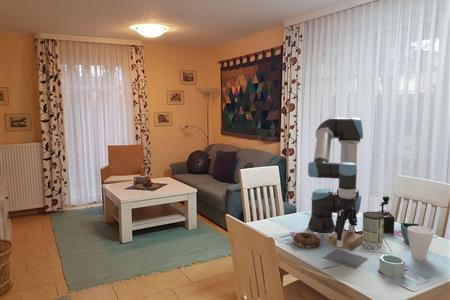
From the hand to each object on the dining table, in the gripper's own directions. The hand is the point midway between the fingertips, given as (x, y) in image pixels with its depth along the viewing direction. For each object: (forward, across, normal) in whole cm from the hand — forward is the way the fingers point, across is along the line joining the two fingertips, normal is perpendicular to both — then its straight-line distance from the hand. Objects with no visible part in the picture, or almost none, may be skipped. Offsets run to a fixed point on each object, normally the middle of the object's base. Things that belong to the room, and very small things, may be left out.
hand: (345, 242), depth 157 cm
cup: (+9, +24, -24) cm, 35 cm away
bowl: (+8, 0, -20) cm, 22 cm away
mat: (+8, -1, 0) cm, 8 cm away
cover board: (+1, 0, 0) cm, 1 cm away
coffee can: (+9, +31, 0) cm, 32 cm away
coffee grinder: (+10, +52, +3) cm, 53 cm away
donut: (+9, +3, +22) cm, 24 cm away
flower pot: (+9, +41, -16) cm, 45 cm away
